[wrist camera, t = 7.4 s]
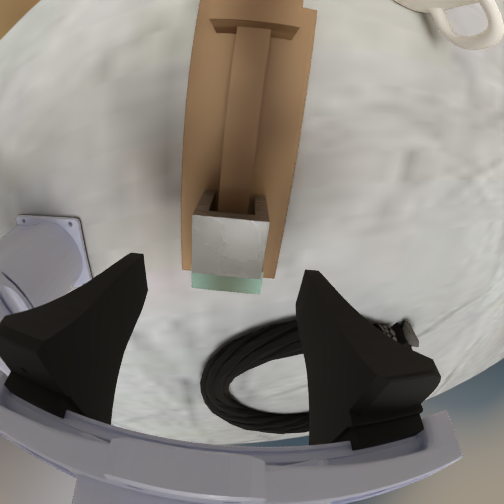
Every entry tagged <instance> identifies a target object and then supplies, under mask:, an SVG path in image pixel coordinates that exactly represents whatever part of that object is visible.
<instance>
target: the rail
mask: <svg viewBox="0 0 504 504" xmlns="http://www.w3.org/2000/svg"><path fill="white" fill-rule="evenodd" d="M316 17H317V10H313V9H308V8H303V0H200V4H199V10H198V15H197V21H196V27H195V34H194V40H193V47H192V55H191V62H190V71H189V79H188V89H187V99H186V111H185V124H184V140H183V159H182V191H181V248H182V270H190V271H192V215H193V213H194V211H195V208H196V206H197V204H198V202H199V200H200V198H201V196H202V194H203V192H204V190H212V191H216V195H215V210H214V211H216V212H227V213H237V214H247V215H252V212H253V204H254V196H255V195H263V196H266V201H267V207H268V214H269V220H270V224H269V231H268V237H267V243H266V249H265V255H264V262H263V268H262V274H261V279H251V278H240V277H230V276H219V275H209V274H200V273H192V288H199V289H208V290H218V291H228V292H239V293H250V294H260V290H261V284H262V278H273V279H274V278H275V273H276V268H277V263H278V258H279V253H280V248H281V242H282V237H283V232H284V226H285V221H286V216H287V210H288V205H289V199H290V193H291V188H292V182H293V176H294V170H295V164H296V158H297V152H298V146H299V140H300V134H301V127H302V121H303V114H304V108H305V101H306V94H307V87H308V80H309V73H310V65H311V58H312V50H313V42H314V34H315V26H316Z"/></svg>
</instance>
